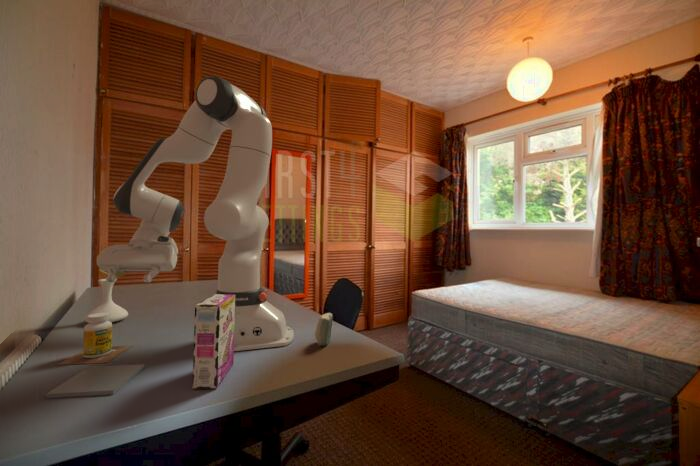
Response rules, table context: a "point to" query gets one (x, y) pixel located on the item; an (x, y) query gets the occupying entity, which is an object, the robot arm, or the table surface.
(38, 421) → the table surface
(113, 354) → the tile
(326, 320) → the beige upright rounded block
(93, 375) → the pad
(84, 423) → the table surface
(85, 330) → the supplement bottle
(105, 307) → the flower in vase
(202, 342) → the candy bar box
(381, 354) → the table surface
